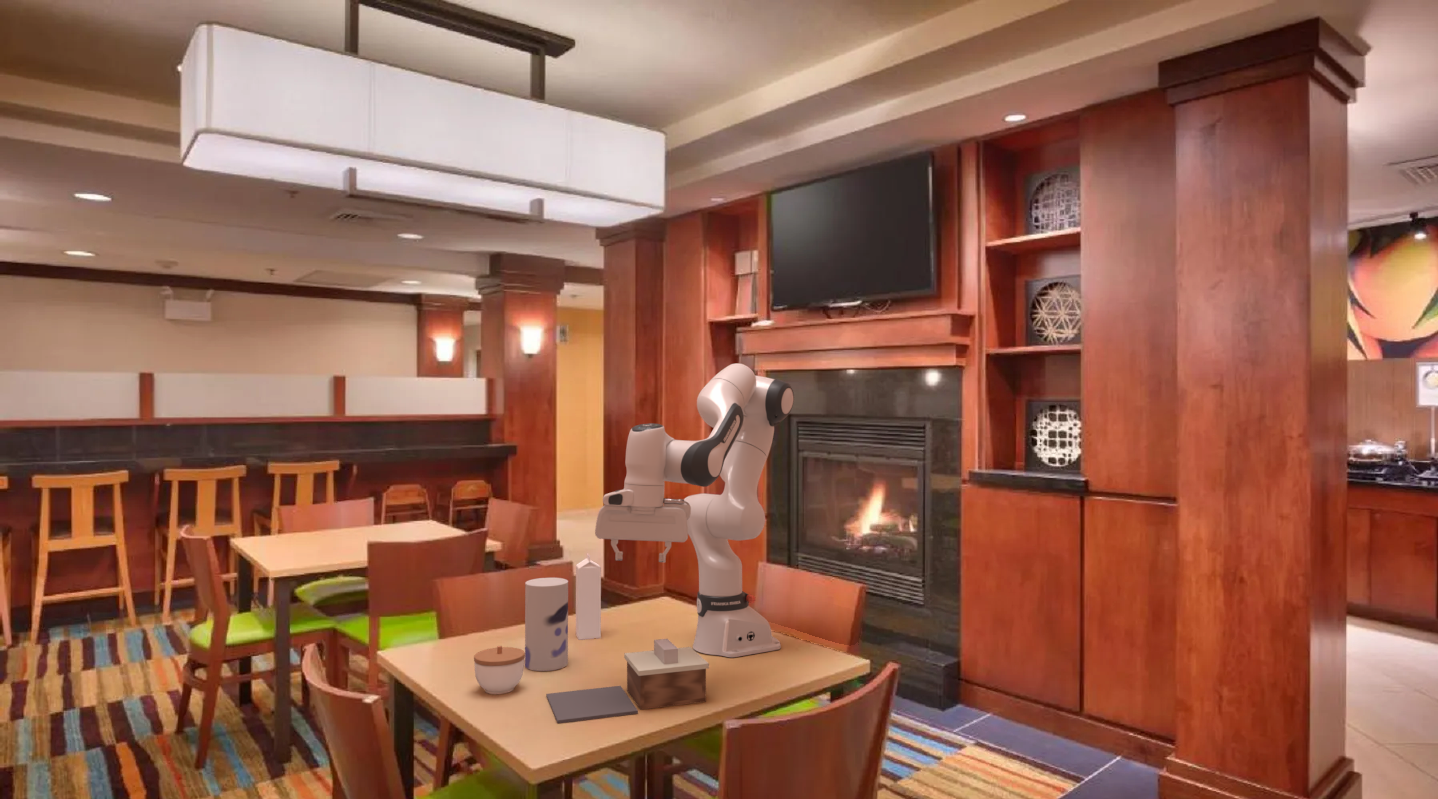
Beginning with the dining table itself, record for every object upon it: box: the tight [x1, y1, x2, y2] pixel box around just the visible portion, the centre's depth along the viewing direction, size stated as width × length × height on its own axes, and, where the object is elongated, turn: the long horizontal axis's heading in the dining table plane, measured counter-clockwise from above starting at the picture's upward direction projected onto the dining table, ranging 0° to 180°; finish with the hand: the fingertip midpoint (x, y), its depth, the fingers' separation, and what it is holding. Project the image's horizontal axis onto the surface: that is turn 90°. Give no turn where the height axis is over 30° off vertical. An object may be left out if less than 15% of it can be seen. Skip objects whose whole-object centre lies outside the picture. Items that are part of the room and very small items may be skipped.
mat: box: [546, 685, 639, 724], centre depth 171 cm, size 16×16×1 cm
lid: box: [623, 638, 710, 676], centre depth 176 cm, size 15×13×5 cm
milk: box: [575, 552, 602, 641], centre depth 223 cm, size 6×6×22 cm
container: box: [524, 577, 569, 672], centre depth 198 cm, size 10×10×20 cm
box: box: [626, 661, 707, 710], centre depth 176 cm, size 14×12×7 cm
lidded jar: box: [473, 645, 525, 695], centre depth 180 cm, size 11×11×9 cm
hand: (640, 561), depth 181 cm, fingers open, 8 cm apart
